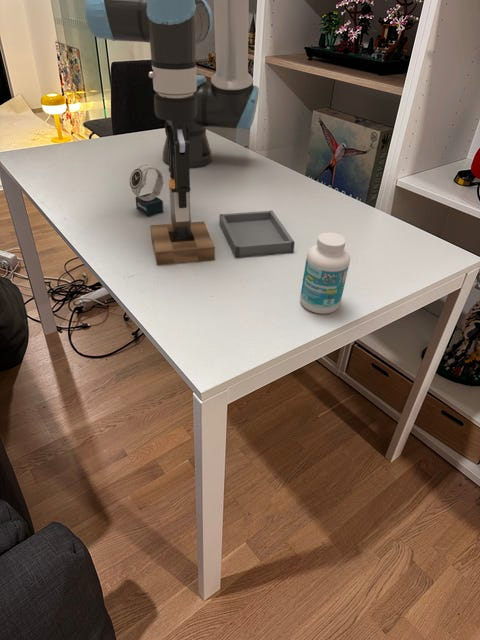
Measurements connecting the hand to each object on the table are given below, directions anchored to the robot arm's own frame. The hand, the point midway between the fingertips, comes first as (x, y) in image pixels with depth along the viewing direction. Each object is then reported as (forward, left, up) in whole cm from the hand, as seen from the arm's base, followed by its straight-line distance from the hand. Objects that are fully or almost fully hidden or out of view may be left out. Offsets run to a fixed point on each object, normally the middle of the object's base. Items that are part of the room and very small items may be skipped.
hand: (180, 215), depth 95 cm
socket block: (0, 0, -8) cm, 8 cm away
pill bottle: (+25, +22, -8) cm, 34 cm away
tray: (-2, +17, -8) cm, 19 cm away
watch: (-20, -5, -8) cm, 22 cm away
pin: (0, 0, -5) cm, 5 cm away
